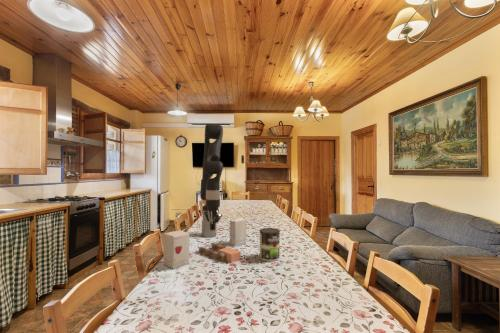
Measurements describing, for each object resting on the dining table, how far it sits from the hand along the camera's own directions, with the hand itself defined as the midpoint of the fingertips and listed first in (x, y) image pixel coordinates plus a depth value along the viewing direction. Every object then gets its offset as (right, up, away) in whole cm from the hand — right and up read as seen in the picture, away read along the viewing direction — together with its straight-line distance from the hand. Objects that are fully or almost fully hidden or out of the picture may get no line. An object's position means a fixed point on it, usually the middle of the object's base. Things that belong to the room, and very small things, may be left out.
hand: (212, 230), depth 139 cm
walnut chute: (+3, -12, -3) cm, 13 cm away
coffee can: (+30, -13, -7) cm, 33 cm away
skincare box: (+13, -13, +16) cm, 24 cm away
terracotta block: (+10, -12, -9) cm, 18 cm away
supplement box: (-15, -13, -16) cm, 25 cm away
